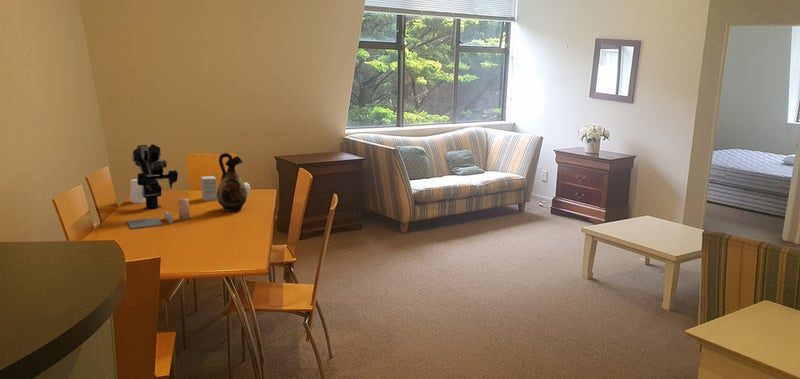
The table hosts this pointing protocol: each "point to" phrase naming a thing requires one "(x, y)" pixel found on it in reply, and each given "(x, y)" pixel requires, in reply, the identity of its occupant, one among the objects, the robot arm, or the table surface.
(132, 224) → the mat
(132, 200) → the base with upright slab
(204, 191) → the supplement box
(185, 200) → the pale pink tall block
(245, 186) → the penguin figurine
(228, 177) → the ceramic jug
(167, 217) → the low divider
